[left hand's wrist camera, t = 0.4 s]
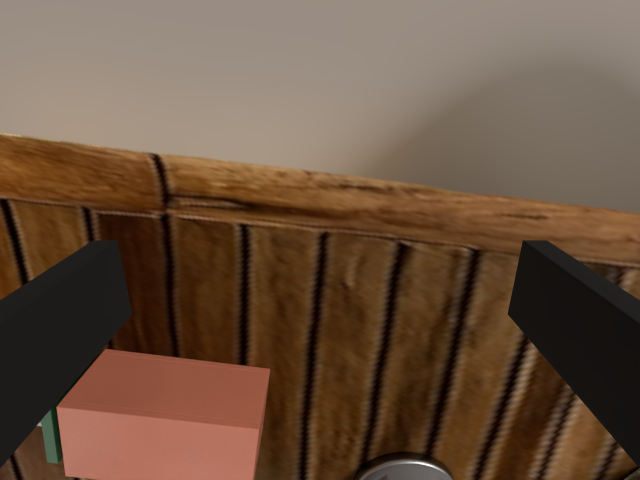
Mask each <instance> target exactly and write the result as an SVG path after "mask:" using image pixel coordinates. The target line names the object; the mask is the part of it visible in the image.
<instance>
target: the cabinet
mask: <svg viewBox="0 0 640 480" xmlns="http://www.w3.org/2000/svg"><path fill="white" fill-rule="evenodd" d="M269 375H270V369H268V368H260V367H252V366H243V365H235V364H227V363H218V362H210V361H202V360H194V359H185V358H177V357H169V356H161V355H152V354H144V353H136V352H127V351H119V350H111V349H105V350H104V351H103V352H102V353H101V355H100V356H99V357H98V358H97V359H96V361H95V362H94V363H93V364H92V365H91V366H90V368H89V369H88V370H87V371H86V372H85V374H84V375H83V376H82V377H81V378H80V379H79V381H78V382H77V383H76V384H75V385H74V387H73V388H72V389H71V390H70V391H69V392H68V394H67V395H66V396H65V397H64V398H63V400H62V401H61V402H60V403H59V405H58V406H57V415H58V422H59V430H60V437H61V445H62V452H63V460H64V467H65V475H66V476H69V477H79V478H89V479H98V480H254V476H255V470H256V464H257V458H258V453H259V447H260V441H261V435H262V430H263V422H264V414H265V406H266V398H267V391H268V383H269Z"/></svg>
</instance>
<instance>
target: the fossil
mask: <svg viewBox="0 0 640 480" xmlns="http://www.w3.org/2000/svg"><path fill="white" fill-rule="evenodd" d="M624 480H640V469H638V470H637V471H635V472H634V473H632V474H631V475H629V476H628V477H626V478H625V479H624Z"/></svg>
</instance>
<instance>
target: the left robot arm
mask: <svg viewBox="0 0 640 480" xmlns="http://www.w3.org/2000/svg"><path fill="white" fill-rule="evenodd" d="M131 315H132V310H131V305H130V301H129V296H128V291H127V286H126V281H125V277H124V272H123V267H122V262H121V257H120V253H119V248H118V243H117V241H92V242H90V243H89V244H87V245H86V246H84V247H82V248H81V249H79V250H78V251H76V252H75V253H73V254H72V255H70V256H68V257H67V258H65V259H64V260H62V261H61V262H59V263H58V264H56V265H54V266H53V267H51V268H50V269H48V270H47V271H45V272H44V273H42V274H40V275H39V276H37V277H36V278H34V279H33V280H31V281H30V282H28V283H26V284H25V285H23V286H22V287H20V288H19V289H17V290H16V291H14V292H12V293H11V294H9V295H8V296H6V297H5V298H3V299H2V300H0V468H1V467H2V466H3V464H4V463H5V462H6V461H7V460H8V459H9V457H10V456H11V455H12V454H13V453H14V452H15V450H16V449H17V448H18V447H19V446H20V445H21V443H22V442H23V441H24V440H25V439H26V438H27V436H28V435H29V434H30V433H31V432H32V431H33V429H34V428H35V427H36V426H37V425H38V424H39V422H40V421H41V420H42V419H43V418H44V417H45V415H46V414H47V413H48V412H49V411H50V410H51V408H52V407H53V406H54V405H55V404H56V403H57V401H58V400H59V399H60V398H61V397H62V396H63V394H64V393H65V392H66V391H67V390H68V389H69V387H70V386H71V385H72V384H73V383H74V382H75V380H76V379H77V378H78V377H79V376H80V375H81V373H82V372H83V371H84V370H85V369H86V368H87V366H88V365H89V364H90V363H91V362H92V361H93V359H94V358H95V357H96V356H97V355H98V354H99V352H100V351H101V350H102V349H103V348H104V347H105V345H106V344H107V343H108V342H109V341H110V340H111V338H112V337H113V336H114V335H115V334H116V333H117V331H118V330H119V329H120V328H121V327H122V326H123V324H124V323H125V322H126V321H127V320H128V319H129V317H130V316H131ZM508 315H509V316H510V317H511V319H512V320H513V321H514V322H515V323H516V324H517V326H518V327H519V328H520V329H521V330H522V331H523V333H524V334H525V335H526V336H527V337H528V338H529V340H530V341H531V342H532V343H533V344H534V345H535V347H536V348H537V349H538V350H539V351H540V352H541V354H542V355H543V356H544V357H545V358H546V359H547V361H548V362H549V363H550V364H551V365H552V366H553V368H554V369H555V370H556V371H557V372H558V373H559V375H560V376H561V377H562V378H563V379H564V380H565V382H566V383H567V384H568V385H569V386H570V387H571V389H572V390H573V391H574V392H575V393H576V394H577V396H578V397H579V398H580V399H581V400H582V401H583V403H584V404H585V405H586V406H587V407H588V408H589V410H590V411H591V412H592V413H593V414H594V415H595V417H596V418H597V419H598V420H599V421H600V422H601V424H602V425H603V426H604V427H605V428H606V429H607V431H608V432H609V433H610V434H611V435H612V436H613V438H614V439H615V440H616V441H617V442H618V443H619V445H620V446H621V447H622V448H623V449H624V450H625V452H626V453H627V454H628V455H629V456H630V457H631V459H632V460H633V461H634V462H635V463H636V464H637V466H638V467H639V468H640V300H638V299H637V298H635V297H634V296H632V295H631V294H629V293H628V292H626V291H624V290H623V289H621V288H620V287H618V286H617V285H615V284H614V283H612V282H610V281H609V280H607V279H606V278H604V277H603V276H601V275H600V274H598V273H596V272H595V271H593V270H592V269H590V268H589V267H587V266H586V265H584V264H582V263H581V262H579V261H578V260H576V259H575V258H573V257H572V256H570V255H568V254H567V253H565V252H564V251H562V250H561V249H559V248H558V247H556V246H554V245H553V244H551V243H550V242H548V241H523V243H522V248H521V253H520V257H519V262H518V267H517V272H516V277H515V281H514V286H513V291H512V296H511V301H510V305H509V310H508ZM354 480H454V478H453V476H452V474H451V472H450V470H449V469H448V468H447V467H446V466H445V465H444V464H443V463H441V462H440V461H438V460H437V459H435V458H432V457H430V456H427V455H423V454H419V453H395V454H390V455H386V456H383V457H380V458H378V459H375V460H373V461H372V462H370V463H368V464H367V465H366V466H364V467H363V468H362V469H361V470H360V471H359V472H358V473H357V475H356V476H355V478H354Z"/></svg>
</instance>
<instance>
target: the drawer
mask: <svg viewBox="0 0 640 480" xmlns="http://www.w3.org/2000/svg"><path fill="white" fill-rule="evenodd" d="M90 366H91V363H90V364H89V365H88V366H87V368H86V369H85V370H84V371H83V372H82V373H81V375H80V376H79V377H78V378H77V379H76V380H75V382H74V383H73V384H72V385H71V386H70V387H69V389H68V390H67V391H66V392H65V393H64V394H63V396H62V397H61V398H60V399H59V400H58V401H57V403H56V404H55V405H54V406H53V407H52V408H51V410H50V411H49V412H48V413H47V414H46V415H45V417H44V418H43V419H42V420H41V421H40V422H39V424H38V425H37V426H42V431H43V438H44V444H45V451H46V457H47V462H48V463H59V462H60V460H61V459H62V457H63V452H62V445H61V437H60V430H59V422H58V415H57V406H58V405H59V403H60V402H61V401H62V400H63V398H64V397H65V396H66V395H67V394H68V392H69V391H70V390H71V389H72V388H73V387H74V385H75V384H76V383H77V382H78V381H79V379H80V378H81V377H82V376H83V375H84V374H85V372H86V371H87V370H88V369H89V368H90Z"/></svg>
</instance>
